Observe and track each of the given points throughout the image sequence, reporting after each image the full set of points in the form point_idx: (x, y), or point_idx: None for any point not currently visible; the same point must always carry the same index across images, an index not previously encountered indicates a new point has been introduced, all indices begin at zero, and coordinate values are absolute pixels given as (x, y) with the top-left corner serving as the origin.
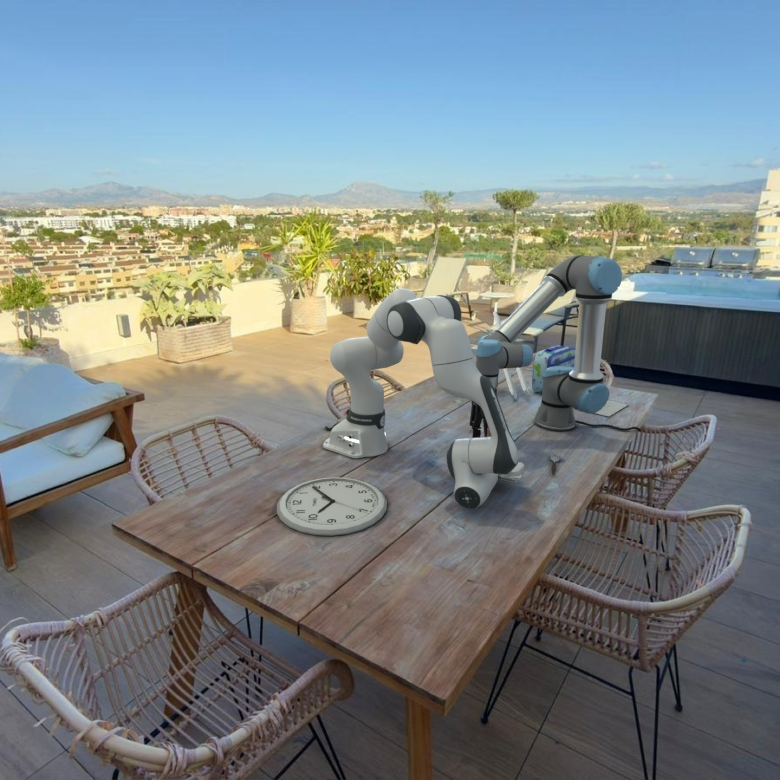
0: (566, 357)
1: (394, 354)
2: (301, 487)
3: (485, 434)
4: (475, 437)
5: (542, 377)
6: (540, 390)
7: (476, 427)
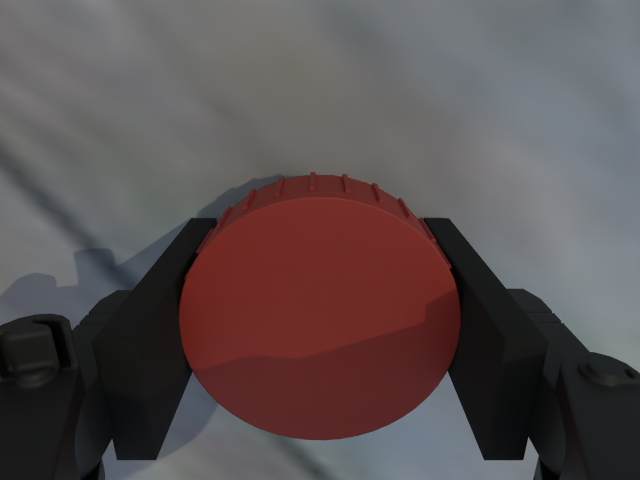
0: None
1: None
2: None
3: (3, 422)
4: (440, 303)
5: None
6: None
7: (561, 442)
